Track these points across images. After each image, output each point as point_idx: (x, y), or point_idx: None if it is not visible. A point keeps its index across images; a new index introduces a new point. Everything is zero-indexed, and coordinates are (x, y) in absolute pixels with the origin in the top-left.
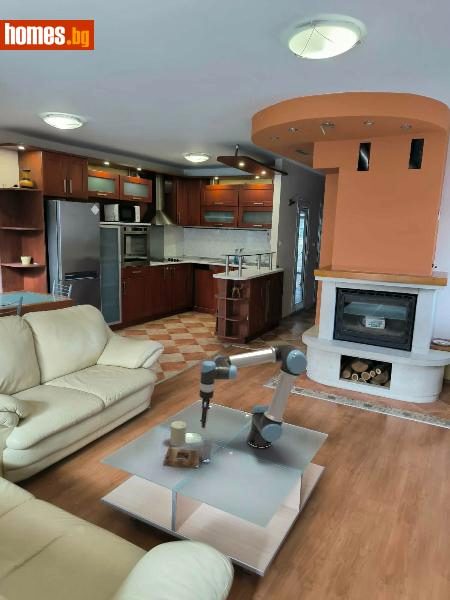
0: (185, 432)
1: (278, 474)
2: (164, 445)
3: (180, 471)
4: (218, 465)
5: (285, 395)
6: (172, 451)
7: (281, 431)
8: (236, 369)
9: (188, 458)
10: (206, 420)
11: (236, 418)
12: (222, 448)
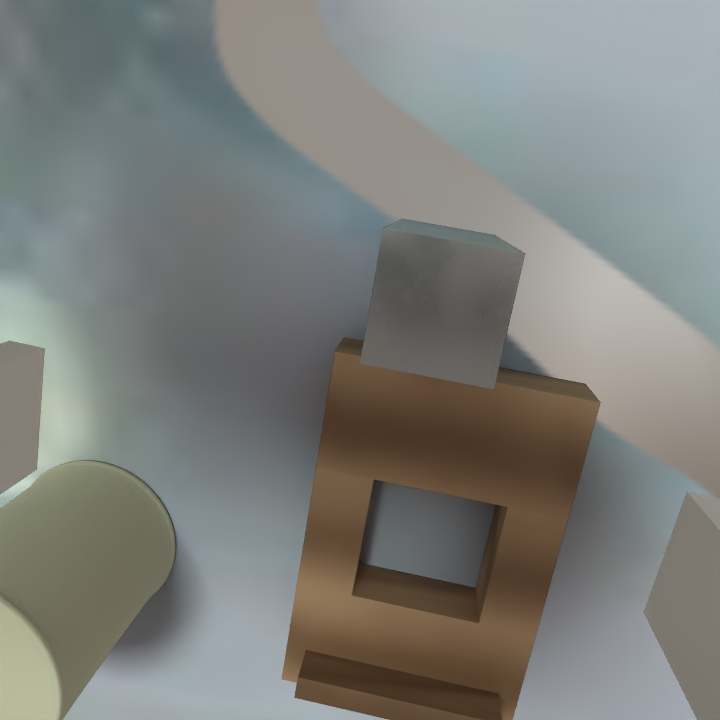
0: (39, 536)
1: None
2: (159, 657)
3: (622, 557)
4: (556, 134)
5: None
6: (344, 643)
7: None
8: None
9: (494, 498)
10: (35, 387)
11: None
12: (185, 33)
